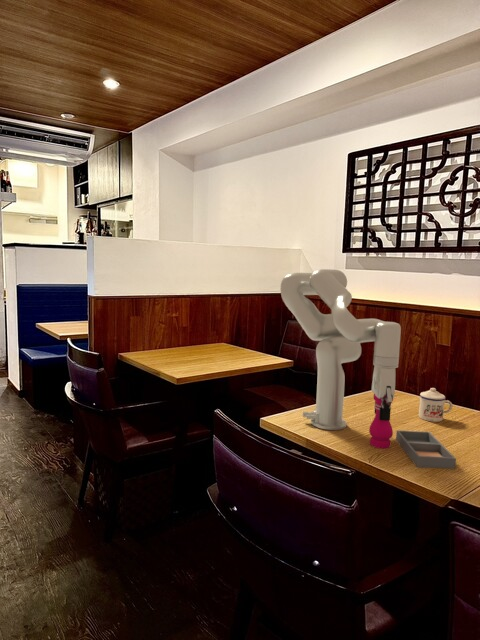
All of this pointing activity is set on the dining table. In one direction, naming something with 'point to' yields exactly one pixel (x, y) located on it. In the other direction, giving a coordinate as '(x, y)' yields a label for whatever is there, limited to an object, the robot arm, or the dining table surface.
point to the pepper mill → (380, 428)
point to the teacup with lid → (432, 405)
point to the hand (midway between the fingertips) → (381, 416)
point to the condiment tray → (425, 450)
